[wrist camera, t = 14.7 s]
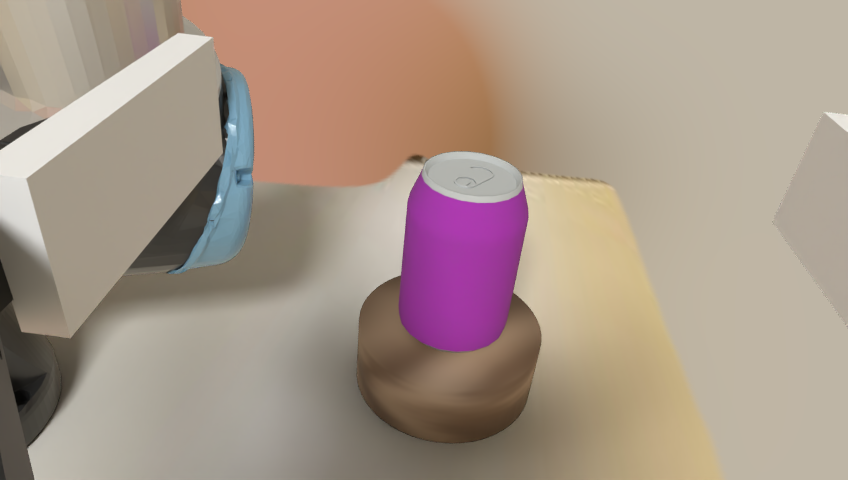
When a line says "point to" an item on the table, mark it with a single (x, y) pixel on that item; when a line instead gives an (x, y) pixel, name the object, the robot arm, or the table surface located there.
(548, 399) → the table surface
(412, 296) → the beverage can
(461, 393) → the walnut pedestal
